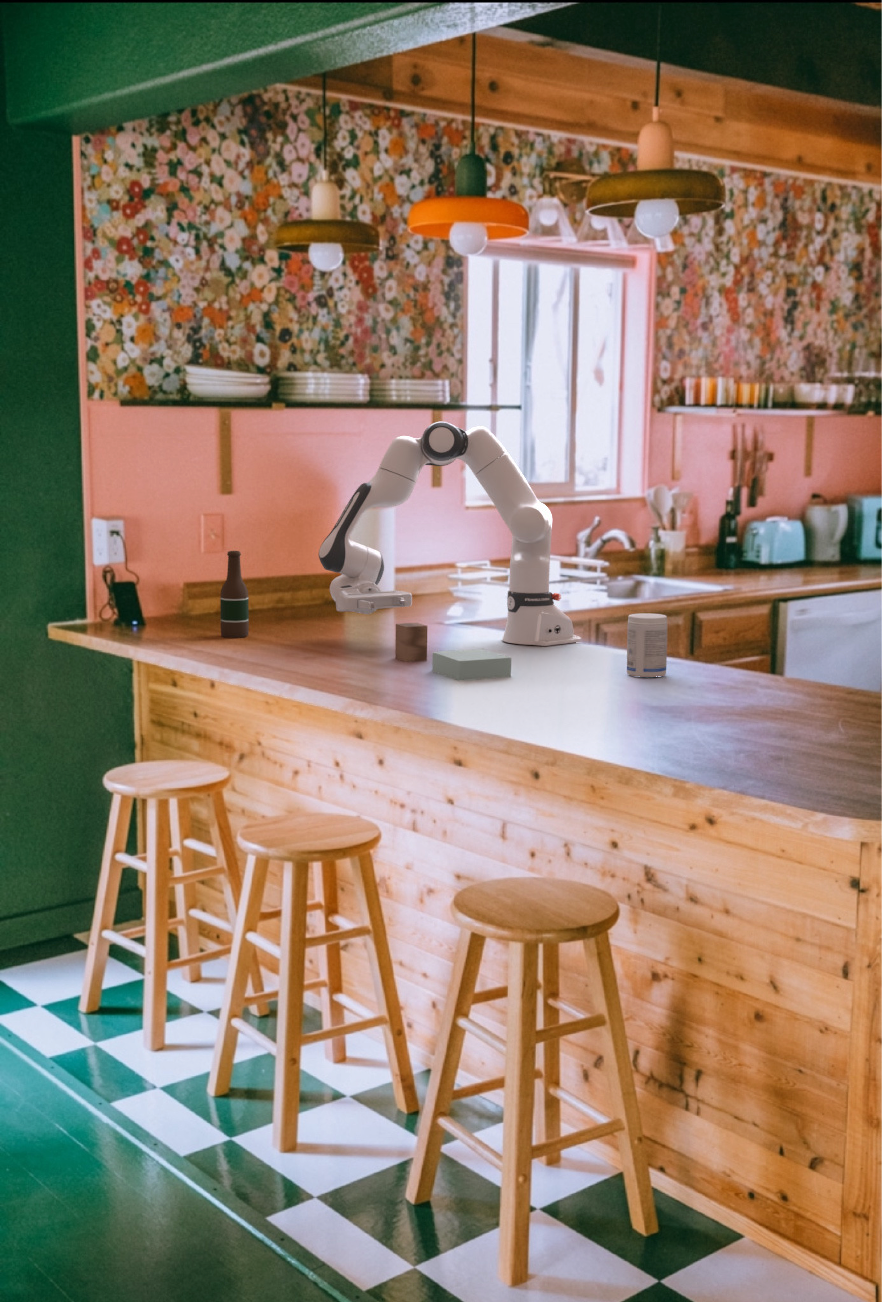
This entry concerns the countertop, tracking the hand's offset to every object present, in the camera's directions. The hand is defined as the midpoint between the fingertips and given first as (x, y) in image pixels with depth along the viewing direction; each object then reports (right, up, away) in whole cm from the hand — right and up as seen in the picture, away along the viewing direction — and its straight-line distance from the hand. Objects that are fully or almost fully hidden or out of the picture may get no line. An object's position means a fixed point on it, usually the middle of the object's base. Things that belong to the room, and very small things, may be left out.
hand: (388, 604), depth 349 cm
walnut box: (+6, -14, -9) cm, 18 cm away
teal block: (+21, -18, -28) cm, 39 cm away
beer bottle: (-44, -8, +25) cm, 51 cm away
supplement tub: (+64, -18, -26) cm, 71 cm away
